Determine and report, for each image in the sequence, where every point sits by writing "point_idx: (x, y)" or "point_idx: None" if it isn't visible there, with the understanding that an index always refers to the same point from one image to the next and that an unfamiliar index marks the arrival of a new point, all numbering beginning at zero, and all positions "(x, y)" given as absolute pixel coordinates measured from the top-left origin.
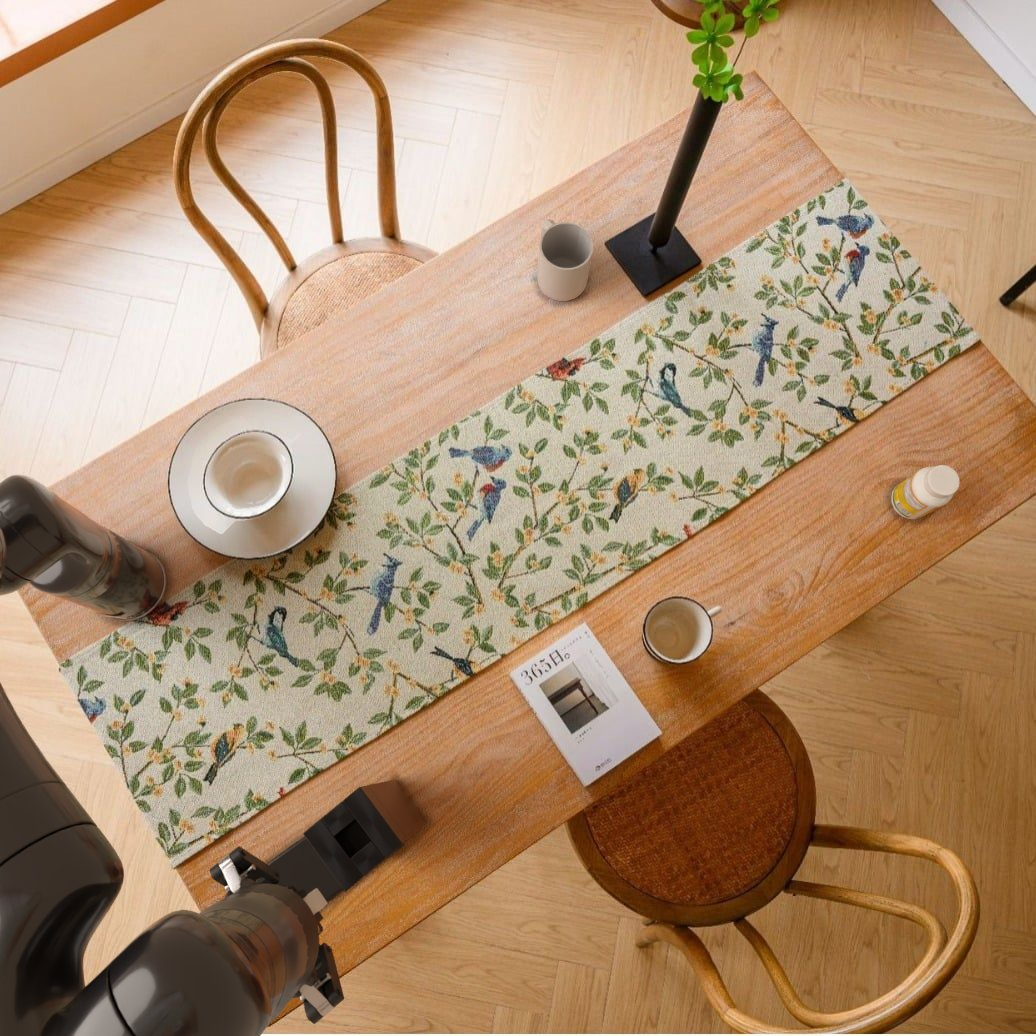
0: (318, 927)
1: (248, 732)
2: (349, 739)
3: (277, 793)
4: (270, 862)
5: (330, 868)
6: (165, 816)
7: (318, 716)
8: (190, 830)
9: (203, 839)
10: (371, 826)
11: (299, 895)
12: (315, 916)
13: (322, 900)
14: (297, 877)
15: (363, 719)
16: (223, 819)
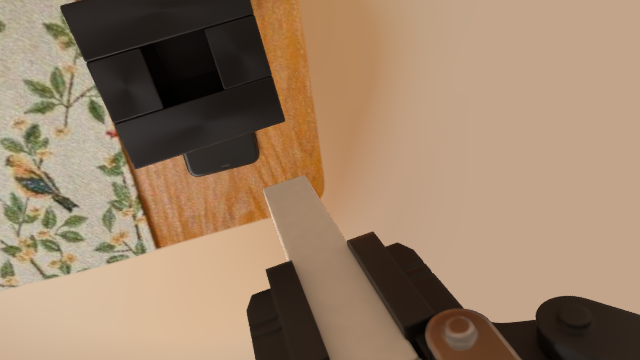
0: (465, 324)
1: (22, 151)
2: (66, 32)
3: (112, 139)
4: (188, 167)
5: (228, 135)
6: (101, 256)
7: (21, 61)
8: (125, 235)
9: (139, 225)
10: (170, 16)
11: (297, 321)
12: (382, 280)
13: (299, 189)
14: (214, 144)
15: (42, 2)
16: (124, 202)
